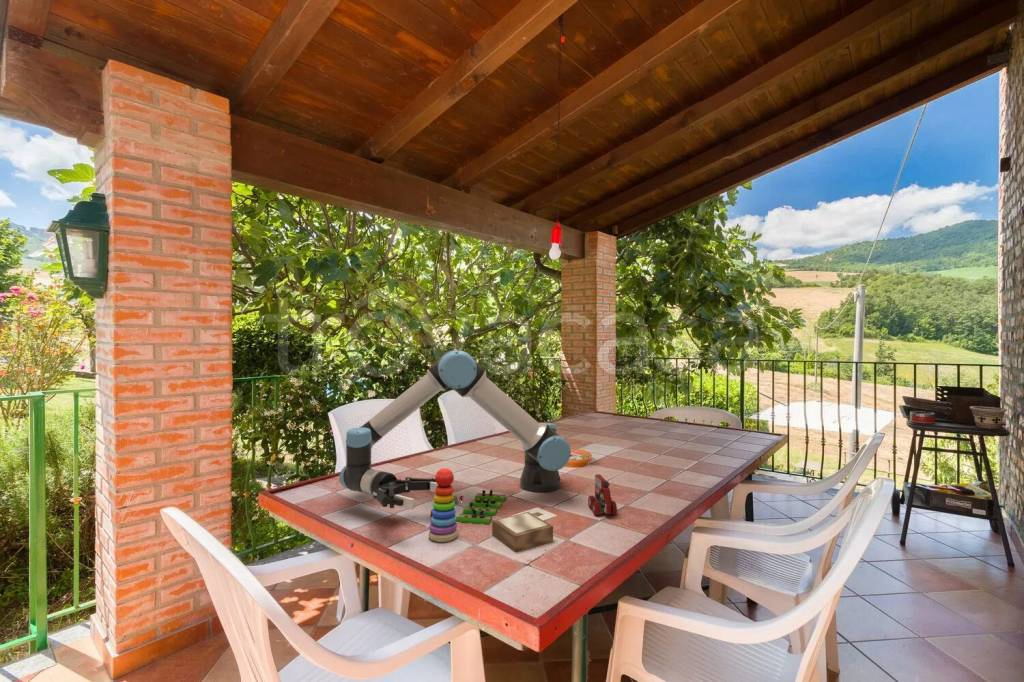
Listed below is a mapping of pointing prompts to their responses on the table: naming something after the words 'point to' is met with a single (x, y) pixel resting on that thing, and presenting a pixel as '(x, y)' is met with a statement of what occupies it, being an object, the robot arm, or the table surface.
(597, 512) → the toy fire truck
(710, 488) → the table surface
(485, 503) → the toy garden set
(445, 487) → the stacking toy
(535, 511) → the page
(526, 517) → the pedestal
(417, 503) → the table surface
